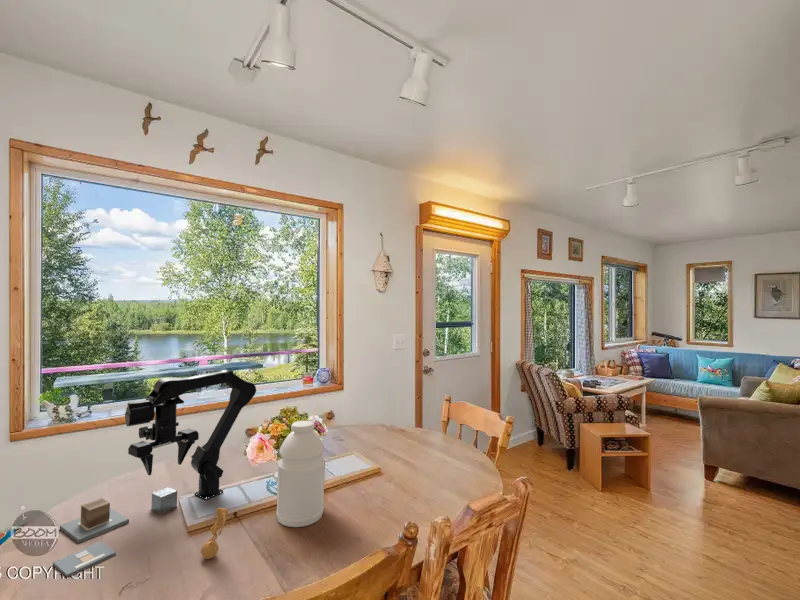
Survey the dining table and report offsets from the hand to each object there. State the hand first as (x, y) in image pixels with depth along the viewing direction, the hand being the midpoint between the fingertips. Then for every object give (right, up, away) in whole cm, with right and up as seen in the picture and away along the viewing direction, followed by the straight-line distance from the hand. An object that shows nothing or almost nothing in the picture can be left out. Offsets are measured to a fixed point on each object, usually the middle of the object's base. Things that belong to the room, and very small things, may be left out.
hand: (165, 469), depth 124 cm
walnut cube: (-14, -10, -11) cm, 20 cm away
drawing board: (-5, -11, -25) cm, 28 cm away
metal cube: (0, -12, 0) cm, 12 cm away
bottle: (+43, -13, -2) cm, 45 cm away
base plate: (-14, -11, -11) cm, 21 cm away
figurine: (+26, -13, -23) cm, 37 cm away
